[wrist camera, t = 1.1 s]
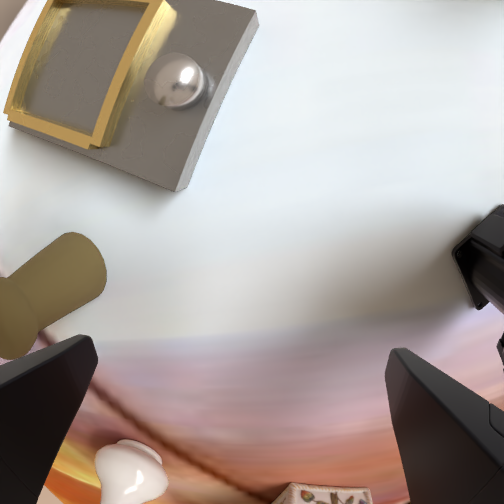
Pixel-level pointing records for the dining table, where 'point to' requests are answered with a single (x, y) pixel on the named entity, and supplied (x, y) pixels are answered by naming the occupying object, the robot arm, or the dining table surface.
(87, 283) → the cork
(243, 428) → the dining table surface
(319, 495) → the decorative jar
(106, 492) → the flower vase
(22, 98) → the grey base with knob
